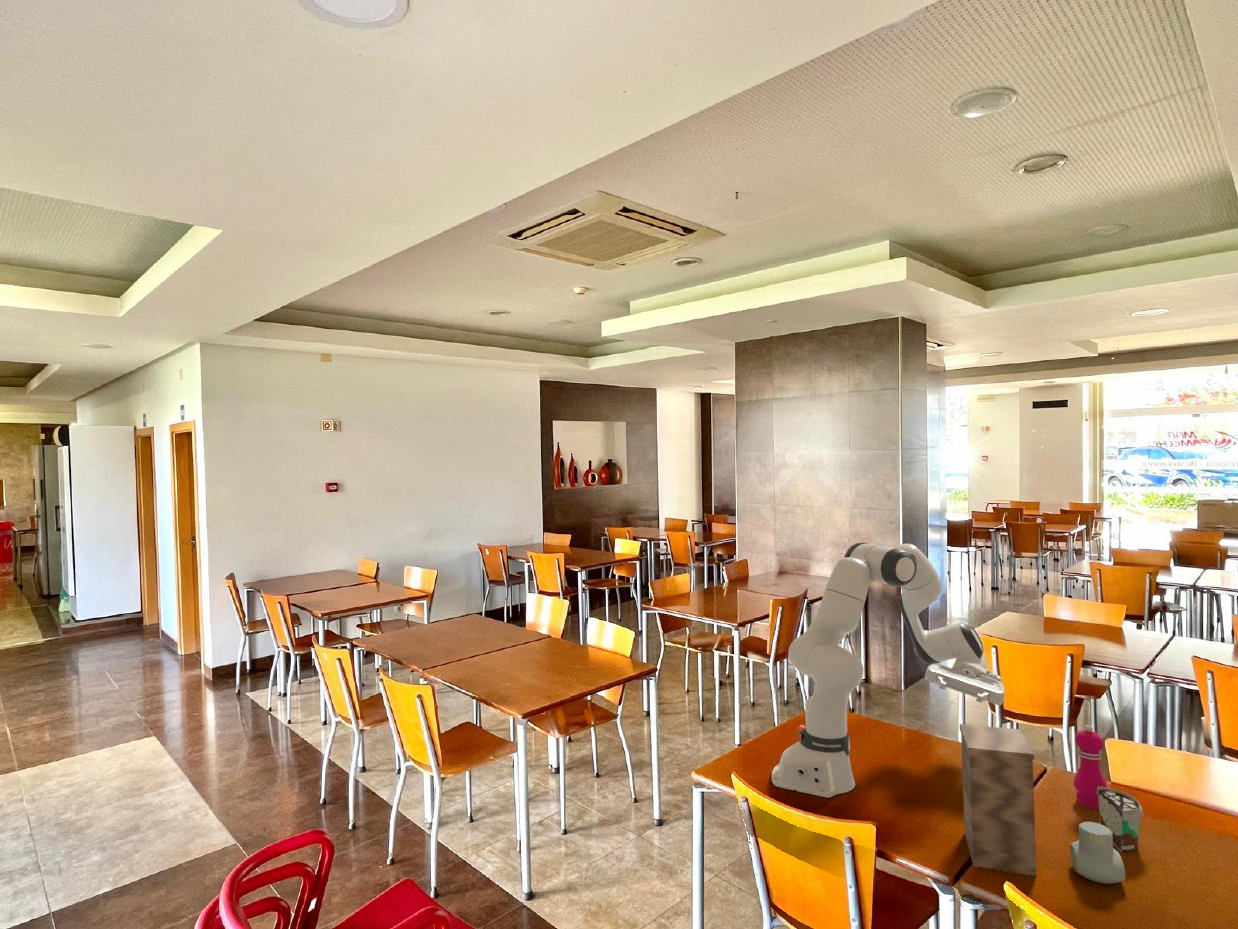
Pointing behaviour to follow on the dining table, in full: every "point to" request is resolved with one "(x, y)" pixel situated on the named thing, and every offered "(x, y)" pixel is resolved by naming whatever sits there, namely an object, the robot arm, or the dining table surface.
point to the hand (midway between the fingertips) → (960, 693)
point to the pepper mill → (1089, 768)
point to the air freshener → (1096, 854)
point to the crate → (998, 798)
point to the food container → (1120, 817)
